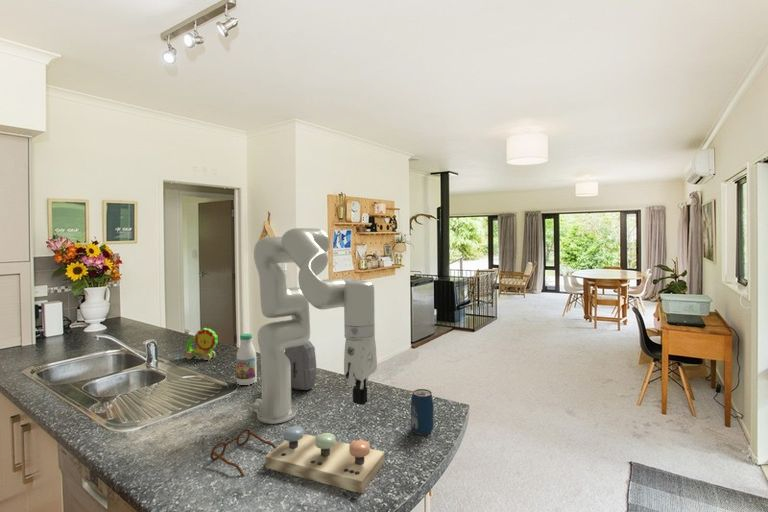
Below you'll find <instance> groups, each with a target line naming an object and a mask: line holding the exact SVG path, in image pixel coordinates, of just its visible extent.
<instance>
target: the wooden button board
mask: <svg viewBox="0 0 768 512" xmlns="http://www.w3.org/2000/svg"><path fill="white" fill-rule="evenodd" d="M316 436H317V435H316ZM316 436H315V435H311V434H307V433H306V434H305V433H303V437H302V438H301V439H300V440H297V441H286V440H285V439H284V441H283V442H282V443H281V444H279V445H278V446H277V447H276V448H275V449H274V448H273V450H271V451H270V452H268V453H267V454H266V455H265V456H264V467H265V468H266V469H270V470H272V471H273V470H274V471H277V472H280V473H284V474H287V475H291V476H296V477H298V478H301V479H306V480H310V481H313V482H317V483H322V484H325V485H329V486H331V485H332V487H336V488H338V489H343V490H346V491H350V492H354V493H357V492H358V494H361V493H362V494H363V493H364V492H365V490H366V489H367V488H368V486H369V485H370V484H369V483H371V482H372V481H373V479H374V478H375V477H376V475H377V474H378V473H377V472H380V470H381V468H383V466H384V464H385V461H386V459H385V458H386V457H385V456H386V454H385V451H384V450H379V449H375V448H370V453H369V454H368V455H367V456H364V457H354V456H352V455H351V454H350V453H349V445H350V443H347V442H342V441H339V440H338V441H337V440H335V445H334V446H333V447H331V448H328V449H320V448H317V447H316V445H315V438H316ZM382 465H383V466H382ZM379 469H380V470H379ZM374 476H375V477H374ZM371 480H372V481H371Z"/></svg>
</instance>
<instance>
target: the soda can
mask: <svg viewBox="0 0 768 512" xmlns="http://www.w3.org/2000/svg"><path fill="white" fill-rule="evenodd" d="M434 401H435V400H434V396H433V394H432V391H431V390H429V389H427V388H426V389H425V388H417V389H415V390H413V391H412V395H411V397H410V427H411V429H412V431H413V432H414V433H415V434H417V435H419V436H420V435H421V436H422V435H423V436H424V435H429V434H430V433H431V432H432V431H433V430H434V406H435V405H434Z"/></svg>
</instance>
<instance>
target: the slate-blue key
mask: <svg viewBox="0 0 768 512" xmlns="http://www.w3.org/2000/svg"><path fill="white" fill-rule="evenodd" d="M303 434H304V428H303V427H302V426H298V425H297V426H296V425H293V426H289V427H286V428H285V429H284V430H283V440H284V441H285V440H286V441H297V440H300V439H301V438H302V437H303Z"/></svg>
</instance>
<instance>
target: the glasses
mask: <svg viewBox="0 0 768 512" xmlns="http://www.w3.org/2000/svg"><path fill="white" fill-rule="evenodd" d="M245 432H247V435H246V436H247V437H246V439H245V440H244V441H243V442H241V443H240V441H239V440H240V437H241V436H242V435H243V434H244V433H245ZM251 436H252V437H254V438H255V439H257V440H258V441H260V442H261V443H263V444H266V445H269V446H271V448H273V450H274V449H275V448H276V445H275V444H274V443H272V442H270V441H269V440H268V441H267V440H265V439H264V438H262V437H260V436H258V435H257V434H255V433H254V432H252V431H251V430H250V429H249V428H245V429H243V430H242V431H240V432H239V433H238V435H237V436H236V437H233V438H232V439H230V440H228V441H227V442H224V441H220V442H218V443H217V444H215V445H214V447H212V449H211V452H210V459H211V460H212V461H217V460H218V459H219V460H220V461H222V462H223V463H225V464H226V465H228V466H232V467H234V468H236V470H237V471H238V473H239V474H240V475H241V476H242V477H245V476H246V475H245V474H244V472H243V471H242V470H241V468H240V467H239V465H238V464H237V463H235V462H231V461H228V460H227V459H226V458H225V457H224V456H223V455H224V454H225V452H226V451H227V450H226V449H227V446H228V445H229V444H231V443H233V442H234V441H235V442H236V445H237V446H238V447H242V446H243V445H245V444H246V443H248V441H249V439H250V437H251ZM221 445H223V448H222V451H221V453H220V454H219V453H217V452H216V451H215V450H216V449H217V448H218V447H219V446H221ZM214 456H215V457H214Z"/></svg>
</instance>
